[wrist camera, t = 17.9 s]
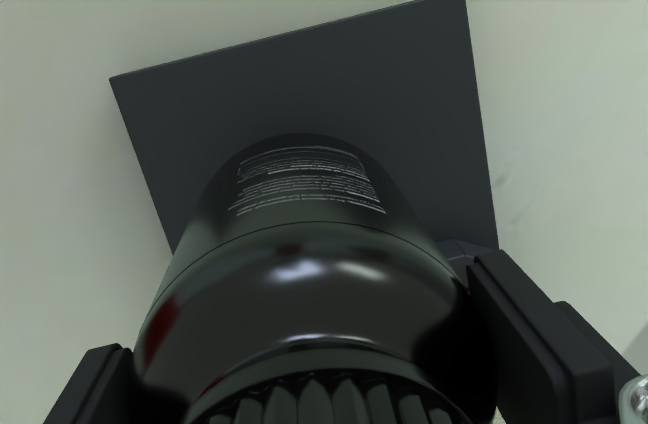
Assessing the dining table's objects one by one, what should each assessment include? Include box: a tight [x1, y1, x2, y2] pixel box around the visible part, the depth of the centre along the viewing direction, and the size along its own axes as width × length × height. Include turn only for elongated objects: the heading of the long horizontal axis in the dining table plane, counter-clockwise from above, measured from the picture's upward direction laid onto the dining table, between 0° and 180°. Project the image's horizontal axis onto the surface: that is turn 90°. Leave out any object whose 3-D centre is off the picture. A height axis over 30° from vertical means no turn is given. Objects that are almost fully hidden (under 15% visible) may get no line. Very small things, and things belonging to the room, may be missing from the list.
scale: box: [109, 0, 499, 292], centre depth 20 cm, size 14×12×3 cm
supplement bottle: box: [126, 133, 498, 424], centre depth 12 cm, size 7×7×12 cm
